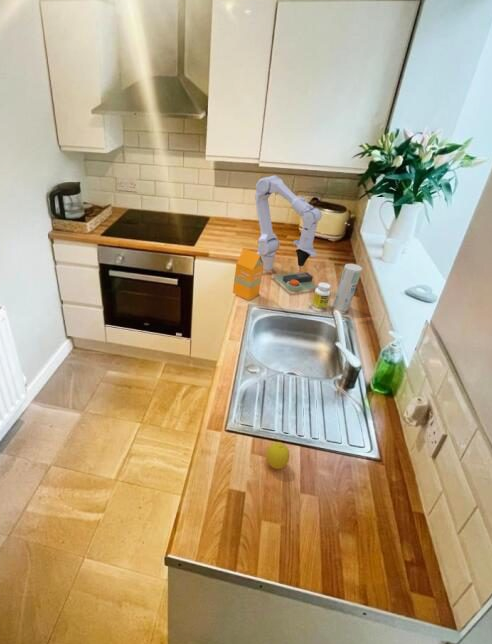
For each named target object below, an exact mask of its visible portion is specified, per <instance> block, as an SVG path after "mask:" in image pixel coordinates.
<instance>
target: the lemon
mask: <svg viewBox="0 0 492 644" xmlns="http://www.w3.org/2000/svg"><path fill="white" fill-rule="evenodd" d="M265 458H266V462H267V464H268V465H269V466H270V467H271V468H273V469H275V470H281V469H283V468H285V467H286V466H287V465H288V464H289V460H290V450H289V448H288V446H287V445H286V444H284V443H283V442H279V441H275V442H273V443H271V444H270V445H269V446H268V447H267V450H266V453H265Z"/></svg>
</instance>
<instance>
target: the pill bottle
mask: <svg viewBox="0 0 492 644" xmlns="http://www.w3.org/2000/svg"><path fill="white" fill-rule="evenodd" d="M331 287H332V286H331V285H330V283H327V282H319V283H318V285H317V288H315V289H314V293H313V297H312V301H311V306H312V307H313V308H314V309H317V310H325V309H327V306H328V304H329V300H330V297H331Z"/></svg>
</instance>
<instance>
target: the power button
mask: <svg viewBox="0 0 492 644" xmlns="http://www.w3.org/2000/svg"><path fill="white" fill-rule="evenodd" d="M298 284H299V281H298V280H294V279H293V280H291V281H290V285H292V286H298Z"/></svg>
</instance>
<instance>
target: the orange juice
mask: <svg viewBox="0 0 492 644" xmlns="http://www.w3.org/2000/svg"><path fill="white" fill-rule="evenodd" d="M240 253H241V254H240V256H239V257H238V259H237V261H236V265H235V272H234V279H233V286H232V287H233V288H232V294H234V295H236V296H238V297H240V298H243V299H245V300H246V301H250V300H252V299H254V298H255V297H257V296H259V293H260V289H261V283H262V279H263V273H264V271H263V267H264V264H263V261H262V258H261V256H260V255H259V254H257V252H254V251H253V250H249V249H246V248H243V249H242V251H241V252H240Z"/></svg>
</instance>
